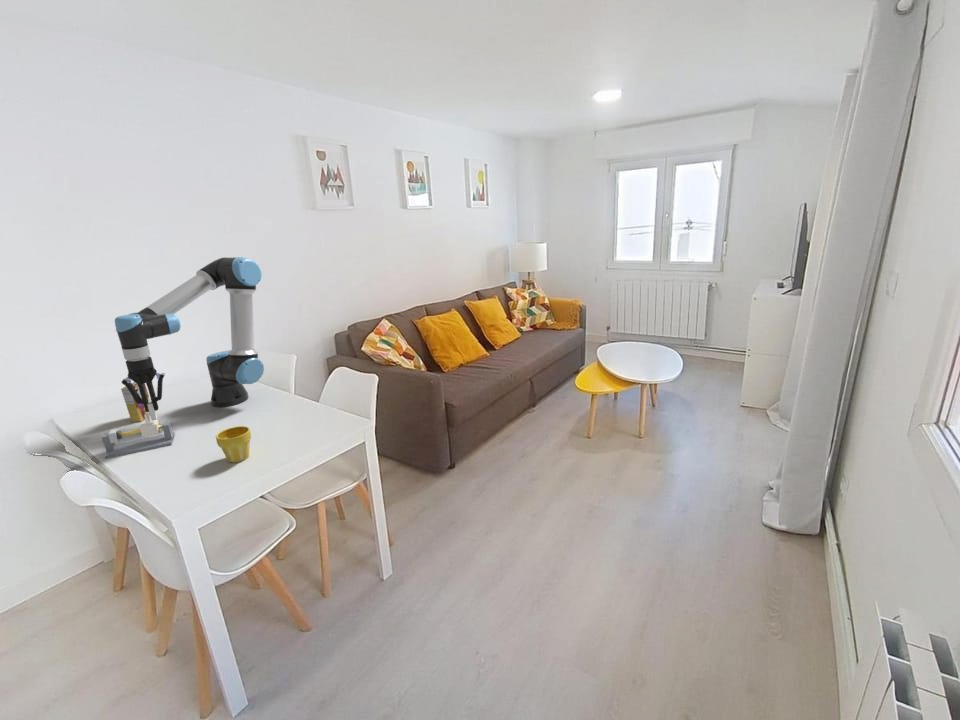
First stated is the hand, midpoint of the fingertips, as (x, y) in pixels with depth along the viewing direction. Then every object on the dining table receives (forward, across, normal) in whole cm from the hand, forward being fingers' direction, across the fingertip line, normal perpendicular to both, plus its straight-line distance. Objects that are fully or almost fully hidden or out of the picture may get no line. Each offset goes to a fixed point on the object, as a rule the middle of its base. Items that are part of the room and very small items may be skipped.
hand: (154, 419), depth 169 cm
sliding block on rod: (+10, +6, 0) cm, 11 cm away
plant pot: (+10, -26, +29) cm, 41 cm away
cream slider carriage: (+6, +2, 0) cm, 6 cm away
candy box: (+10, +11, -32) cm, 36 cm away
